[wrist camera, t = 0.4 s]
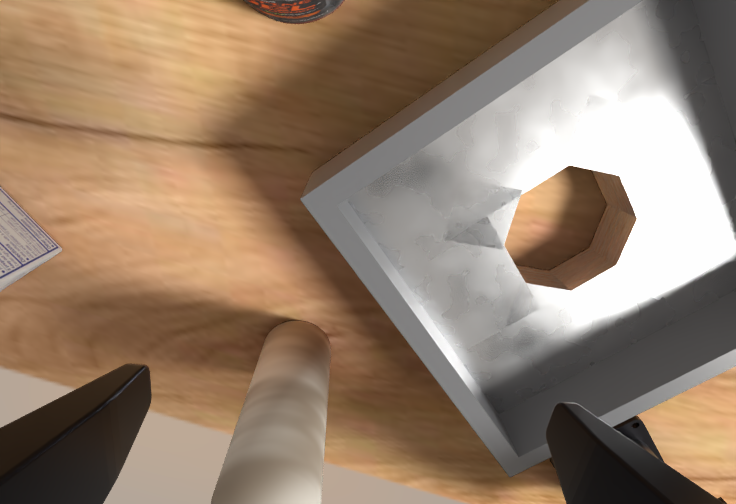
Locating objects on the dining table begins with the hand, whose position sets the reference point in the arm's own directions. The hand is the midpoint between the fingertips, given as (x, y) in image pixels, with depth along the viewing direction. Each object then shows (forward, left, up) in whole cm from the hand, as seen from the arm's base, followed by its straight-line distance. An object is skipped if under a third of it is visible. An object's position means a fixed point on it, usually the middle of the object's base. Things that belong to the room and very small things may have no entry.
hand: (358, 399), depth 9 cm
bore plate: (-6, -9, -14) cm, 17 cm away
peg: (-5, +7, -14) cm, 16 cm away
